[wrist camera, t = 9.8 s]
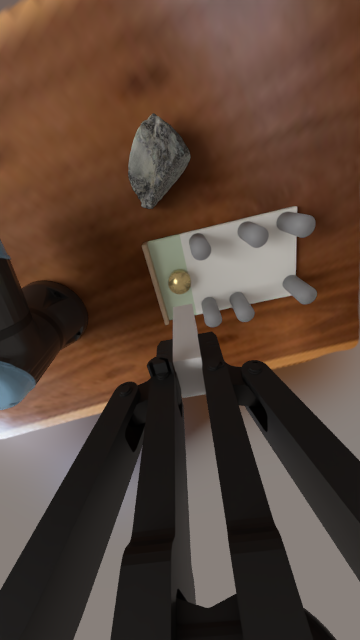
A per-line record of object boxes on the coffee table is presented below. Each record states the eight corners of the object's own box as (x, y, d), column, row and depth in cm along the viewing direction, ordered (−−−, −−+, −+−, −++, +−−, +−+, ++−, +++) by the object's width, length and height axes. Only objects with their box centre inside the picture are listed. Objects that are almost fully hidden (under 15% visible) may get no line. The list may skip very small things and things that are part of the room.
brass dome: (170, 291, 47) (170, 295, 45) (166, 271, 45) (166, 274, 43) (191, 288, 47) (192, 292, 45) (188, 267, 45) (189, 271, 43)
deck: (166, 318, 52) (164, 338, 44) (143, 242, 43) (137, 252, 36) (295, 291, 49) (315, 309, 42) (297, 205, 41) (323, 208, 33)
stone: (177, 196, 31) (137, 107, 26) (135, 218, 38) (99, 151, 33) (211, 175, 36) (184, 97, 31) (169, 197, 43) (142, 137, 38)
